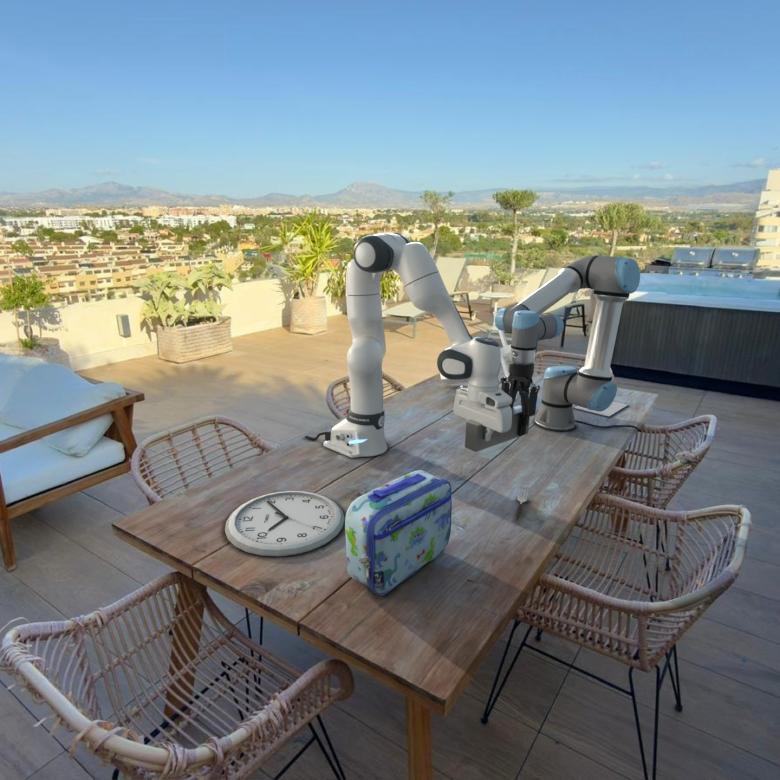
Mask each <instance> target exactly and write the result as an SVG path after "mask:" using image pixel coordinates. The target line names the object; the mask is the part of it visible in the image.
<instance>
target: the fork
mask: <svg viewBox="0 0 780 780" xmlns="http://www.w3.org/2000/svg"><path fill="white" fill-rule="evenodd" d="M526 490H527V488H525V489H521V487H519V492H518V495H517V501H518V502H519V505H518V507H517V508H516V509H517V510H516V521H518V520H519V518H520V515H521V513H522V511H523V503H526V502H527V501H528V495H529V490H527V491H526Z"/></svg>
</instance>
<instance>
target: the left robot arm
mask: <svg viewBox="0 0 780 780" xmlns="http://www.w3.org/2000/svg"><path fill="white" fill-rule="evenodd" d="M352 254H353V255H352V257H353V258H352V259H351V260H350V261H349V262H348V263H347V265H346V272H345V273H346V274H345V301H346V312H347V315H346V316H347V321H348V324H349V328H350V333H351V338H352V339H351V341H352V343H351V345H350V347H349V348H348V350H347V353H346V365H347V374H348V381H349V389H350V390H349V394H350V397H349V398H350V399H349V400H350V405H349V406H350V407H349V408H347V409H346V410H344V411H343V415H346V417H345V418H343V419H342V420H341V421H339V422H338V423H336V424H335V425H334V426H332V425H331V426H330V427H328V428H327V429H326V430H325V431H322V432H319V433H318V434H316V436H315V437H312V436H308V435H305V436H304V439H307V440H311V441H316V440H318V439H319V438H320V437H321V436H324V441H323V447H324V448H327V449H329V450H331V451H334V452H336V453H338V454H341V455H343V456H346V457H349V458H352V459H354V458H355V459H356V458H361V457H363V458H364V457H375V456H379V455H382V454H384V453H386V452H387V450H388V448H389V447H388V445H387V444H388V443H387V441H386V437H385V436H386V434H385V420H386V419H385V408H384V391H385V390H384V387H385V386H384V381H383V380H384V379H383V361H384V358H385V356H386V353H387V346H386V345H387V343H386V334H385V328H384V327H385V326H384V320H383V306H382V305H383V303H382V288H381V279H382V276H383V274H384V273H385V272H386V273H390V272H392V271H393V272H395V273H396V274H397V275H398V276H399V278H400V280H401V282H402V285H403V288H404V290H405V292H406V295H407V297H408V299H409V300H410V302H411V303H412V305H413V306H414V307H415V308H416V309H418V310H420V311H423V312H426V313H428V314H430V315H432V316H434V317H435V318H436V319H437V320H438V321H439V322H440V325H441V326H442V328H443V330H444V332H445V334H446V337H447V339H448V340H449V342H450V346H449V347H447V348H446V349H444V350H442V351H441V352H440V353H439V355H438V357H437V359H436V366H437V370H438V372H439V374H440V373H441V374H442V375H443V376H444V377H445V378H447V379H451V380H460V379H467V380H468V383H467V387H466V386H463V385H460V386H459V387H457V388H456V390H455V391H456V392H455V396H454V401H453V406H452V412H453V414H454V415H455V416H457V417H459V418H462V419H465V422H466V421H469V420H473V421H475V422H478V423H480V424H482V426H485V427H486V430H487V433H486V434H483V440H486V441H489V440H490V439H491V434H492V433H493V432H494V430H495V431H497V432H500V433H504V432H507V431H509V430H510V429H511V425H512V409H511V407H510V406H509V405H510V404H512V398H511V397H510V396H509V395H508V394H506V393H505V392H504V391H503V390H502V388H500V382H499V375H500V372H501V365H500V363H501V352H500V348H501V346H500V344H499V343H498V342H497V341H496V340H495V339H493V338H491V337H486V336H475V337H473V336H472V334H471V333H470V332H469V330H468V328H467V326H466V324H465V322H464V320H463V318H462V316H461V314H460V312H459V310H458V308H457V306H456V304H455V303H454V301H453V298H452V297H451V295H450V294H449V292H448V290H447V287H446V285H445V282H444V281H443V280H444V279H443V278H442V275H441V273H440V271H439V269H438V266H437V265H436V262H435V260H434V258H433V256H432V255H431V254H430V252H429V250H428V249H427V247H426V245H424V244H423V243H421V242H419V241H418V242H417V241H413V242H411V241H410V239H408V238H407V236H404V235H403V234H401V233H398V232H380V233H376V234H368V235H365V236H363V237H361V238H360V239H359V240H357V242H356V243H355V244H354V247H353V252H352ZM501 364H502V363H501Z"/></svg>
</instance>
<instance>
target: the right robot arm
mask: <svg viewBox="0 0 780 780" xmlns="http://www.w3.org/2000/svg"><path fill="white" fill-rule="evenodd" d="M640 282H641V268H640V266H639V264H638V262H637V261H636V260H635V259H634V258H631V257H626V256H613V255H612V256H610V255H595V254H594V255H587V256H583V257H581V258H578V259H577V260H574V261H572V262H570V263H568V264H567V265H565V266H563V268H561V269H560V270H558V272H557V275H556V276H555V277H553V278H552V279H550V280H549V281H548V282H546V283H545V284H543V285H542V286H541V287H540V288H538V289H537V290H535V291H534V292H532V293H531V294H529V295H528V296H527V297H525V298H524V299H523V300H521V301H519V302H518V303H517V304H516V305H515V306H513V307H511V308H508V307H506V308H505V307H503V308H500V309H498V310H497V311H496V315H495V318H494V325H495V328H496V329H497V330H498V329H499V330H502V331H504V333H511V343H510V344H511V351H510V360H509V363H508V368H509V373H510V374H509V376H508V377H505V376H502V377H501V378H500V382H501V390H503V391H504V392H505V393H506V394H508V395H509V396H510V397H511V398H512V404H510V405H509V406H510V407H511V408H512V407H514V405H515V402H516V399H517V398H516V395H518V394H519V397H520V406H521V407H522V415H521V416H520V422H519V432H518V436H520V437H523V436H526V435H527V434H526V426H528V423H529V424H530V419H529V417H530V418H531V417H533V416H535V417H534V424H535V425H536V426H537V427H539V428H542V429H544V430H549V431H556V432H567V431H572V430H574V429H575V428H576V423H577V424H582V425H585V426H589V427H591V428H592V427H593V428H598V429H611V428H632V429H635V430H636V431H637V432H639V433H642V432H643V431H642V429H640V428H639V427H637V426H635V425H632V424H612V425H597V424H593V423H589V422H585V421H581V420H578V419H576V418H575V417H576V416H575V413H574V407H573V405H574V406H580V407H583V408H587V409H589V410H594V411H598V412H600V411H604V410H606V409H607V408H608V407H609V406H610V405H611V404H612V402H613V401H614V400H615V398H616V396H617V394H618V393H617V392H618V387H617V386H618V385H617V384H616V382H614V381H613V376H614V374H613V373H612V372H611V370H610V368H611V364H612V359H613V353H614V348H615V345H616V340H617V334H618V331H619V330H618V329H619V324H620V319H621V314H622V309H623V304H624V303H625V302H626V301H628V300H629V299H630V295H631V294H634V293H635V292H636V291H638V288H639V286H640ZM585 289H589V290H593V294H592V295H593V297H594V298H595V299H596V302H595V303H596V304H595V307H594V313H593V318H592V323H591V328H590V333H589V338H588V344H587V348H586V349H587V350H586V355H585V358H584V359H585V360H584V363H583V366H582V367H581V368H580V369H578V368H577V367H576V366H571V365H570V366H569V365H557V366H556V365H555V366H554V365H553V366H550V367H547V368H546V369H545V371H544V375H543V378H542V379H543V381H542V382H543V383H542V394H541V402H540V405H539V407H538V409H537V403H538V394H539V391H540V390H541V386H540V385H539V384H538V385H536V384H535V383H534V381H533V376H534V373H535V363H534V362H535V361H536V353H537V342H538V341H539V342H540V341H544V340H551V339H554V338H558V337H559V336H560V335H562V333H563V332H564V327H565V325H564V320H563V318H562V316H560V315H558V314H557V313H548V314H544V313H545V312H547V310H549V309H551V308H552V307H553V306H554V305H556V304H557V303H558V302H560V301H561V300H562V299H564V298H565V297H566V296H568V295H569V294H574V293H576V292H578V291H579V290H585ZM510 384H511V385H510ZM509 388H510V389H509ZM515 398H516V399H515ZM522 435H523V436H522Z"/></svg>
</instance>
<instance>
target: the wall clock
mask: <svg viewBox="0 0 780 780" xmlns="http://www.w3.org/2000/svg"><path fill="white" fill-rule="evenodd" d="M344 515H345V514H344V511H343V509H342V508H341V507H340V505H338V503H336V502H335V501H334V500H333V499H332V500H331V499H330V498H329V497H327V496H324V495H322V494H318V493H316V492H311V491H310V492H309V491H305V490H304V491H303V490H284V491H276V492H272V493H267V494H264V495H260V496H257V497H255V498H252V499H250V500H248V501H246V502H245V503H243V504H241V505H240V506H238V508H236V509H235V510H233V511H232V512H231V513H230V515H229V517H228V518H227V520H226V521H225V527H224V532H225V536H226V538H227V540H228V541H229V542H230V544H231V545H233V546H234V547H235V548H237V549H240V550H241V551H244V552H245V553H248V554H252V555H256V556H262V557H287V556H294V555H296V556H297V555H299V554H304V553H307V552H311V551H313V550H316V549H318V548H320V547H322V546H324V545H327V544H328V543H329V542H331V541H332V540H333V539H335V538H336V537H337V536H338V534H339V533H340V532H341V530H342V529H343V527H344V524H345V516H344Z"/></svg>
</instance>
